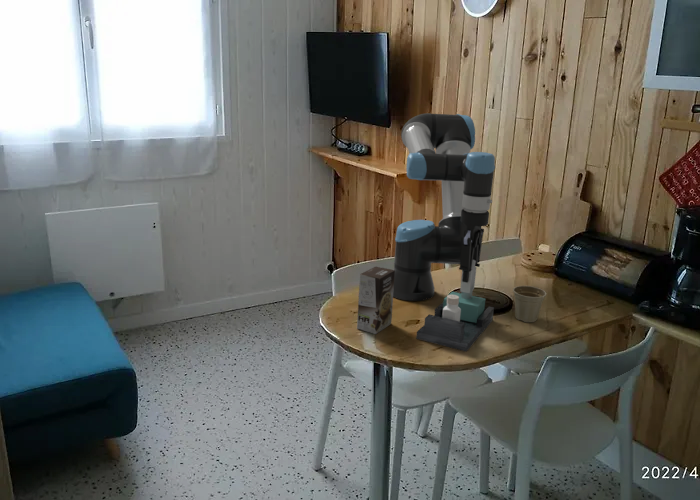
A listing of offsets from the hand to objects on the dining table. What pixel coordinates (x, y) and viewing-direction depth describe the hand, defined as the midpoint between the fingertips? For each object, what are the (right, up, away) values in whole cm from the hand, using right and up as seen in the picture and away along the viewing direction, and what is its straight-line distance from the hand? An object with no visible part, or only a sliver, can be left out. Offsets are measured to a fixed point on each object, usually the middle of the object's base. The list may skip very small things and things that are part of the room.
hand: (467, 289), depth 173 cm
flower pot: (+19, -9, +6) cm, 22 cm away
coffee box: (-27, -10, -3) cm, 29 cm away
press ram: (-1, -7, +1) cm, 7 cm away
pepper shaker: (-6, -10, -8) cm, 15 cm away
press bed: (-4, -11, -3) cm, 12 cm away
